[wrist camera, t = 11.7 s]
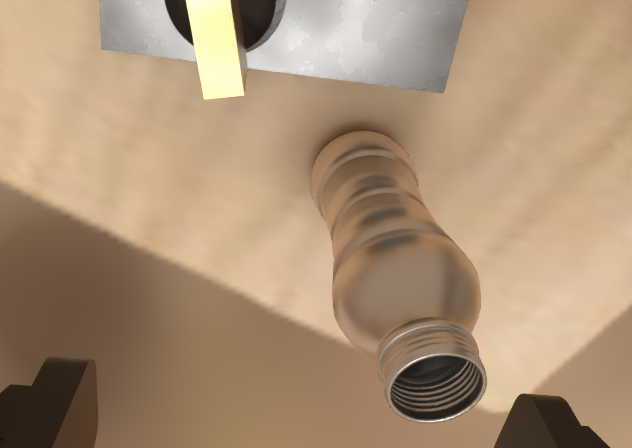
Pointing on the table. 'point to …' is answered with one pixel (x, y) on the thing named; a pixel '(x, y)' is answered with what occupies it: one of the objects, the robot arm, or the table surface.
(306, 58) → the plate
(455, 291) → the plastic bottle
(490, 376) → the table surface
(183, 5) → the knob
